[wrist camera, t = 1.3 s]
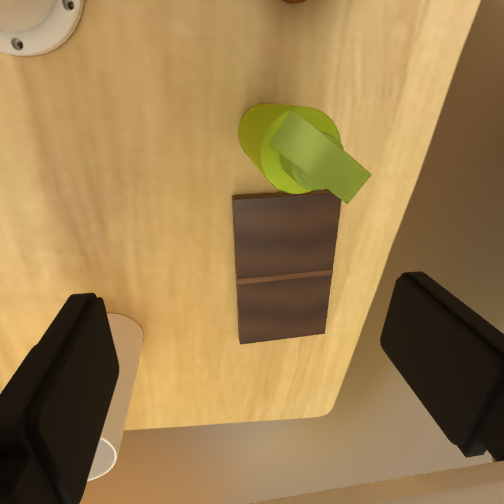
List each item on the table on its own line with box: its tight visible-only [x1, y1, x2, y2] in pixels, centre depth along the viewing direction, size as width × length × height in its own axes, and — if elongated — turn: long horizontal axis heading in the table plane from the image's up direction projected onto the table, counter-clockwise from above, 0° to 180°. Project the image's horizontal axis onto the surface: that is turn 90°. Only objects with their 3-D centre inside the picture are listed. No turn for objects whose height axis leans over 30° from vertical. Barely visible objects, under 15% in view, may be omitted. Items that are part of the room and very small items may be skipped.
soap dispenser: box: [238, 103, 371, 204], centre depth 24 cm, size 6×7×20 cm
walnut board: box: [232, 190, 341, 344], centre depth 40 cm, size 22×13×2 cm, turn 1°
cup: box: [87, 313, 144, 481], centre depth 35 cm, size 8×8×16 cm
